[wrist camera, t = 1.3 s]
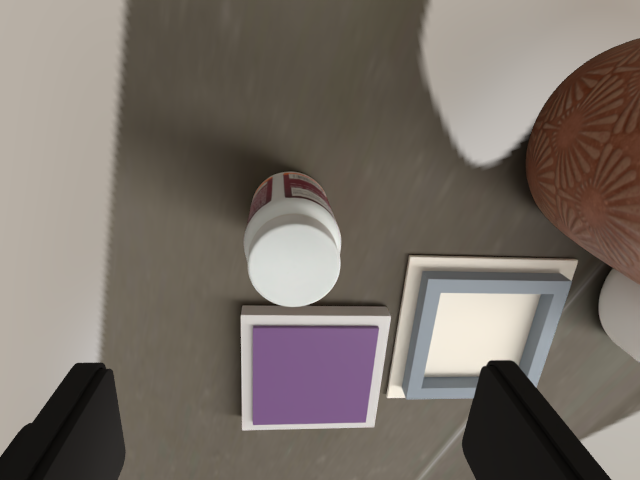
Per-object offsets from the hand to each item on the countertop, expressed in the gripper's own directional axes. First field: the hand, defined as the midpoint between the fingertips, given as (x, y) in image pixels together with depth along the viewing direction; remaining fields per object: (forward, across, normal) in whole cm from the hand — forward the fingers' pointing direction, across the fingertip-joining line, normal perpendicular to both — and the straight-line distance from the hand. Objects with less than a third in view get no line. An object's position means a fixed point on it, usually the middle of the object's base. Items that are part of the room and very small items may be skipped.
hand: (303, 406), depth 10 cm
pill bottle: (+16, 0, 0) cm, 16 cm away
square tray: (+16, -14, +9) cm, 23 cm away
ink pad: (+16, -2, +12) cm, 20 cm away
